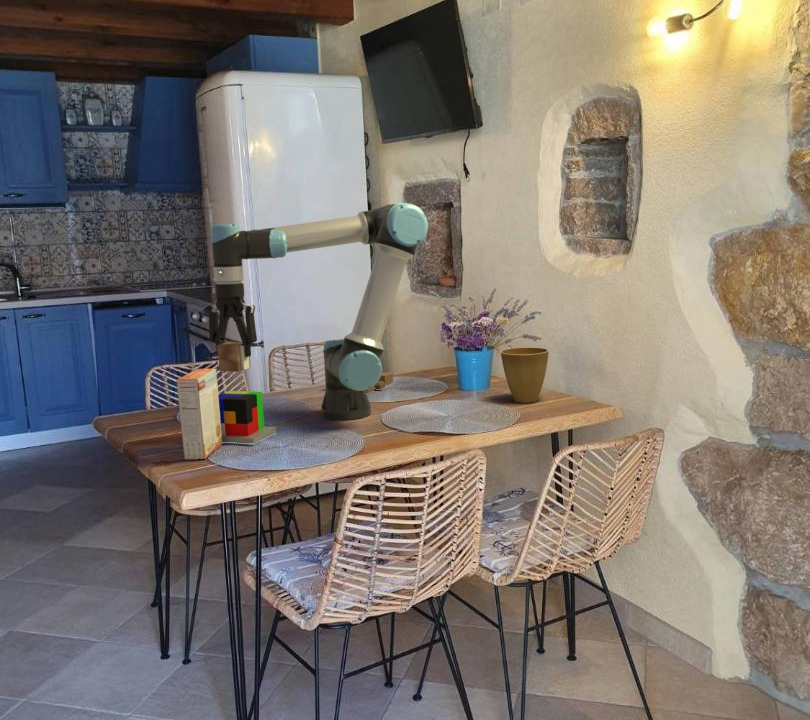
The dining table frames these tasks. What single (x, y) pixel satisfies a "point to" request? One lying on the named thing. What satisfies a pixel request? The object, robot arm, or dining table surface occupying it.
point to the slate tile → (251, 436)
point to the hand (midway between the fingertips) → (235, 368)
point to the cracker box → (199, 413)
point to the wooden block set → (382, 381)
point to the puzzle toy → (241, 413)
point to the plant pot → (525, 372)
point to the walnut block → (230, 357)
